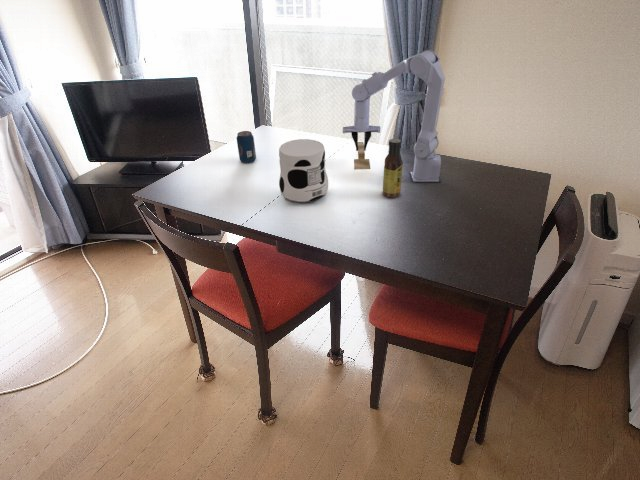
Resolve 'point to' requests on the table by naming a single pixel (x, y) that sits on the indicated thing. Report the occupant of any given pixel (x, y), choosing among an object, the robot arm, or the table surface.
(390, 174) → the sauce bottle
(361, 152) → the tan upright bar
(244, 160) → the soda can
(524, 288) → the table surface
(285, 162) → the milk container
